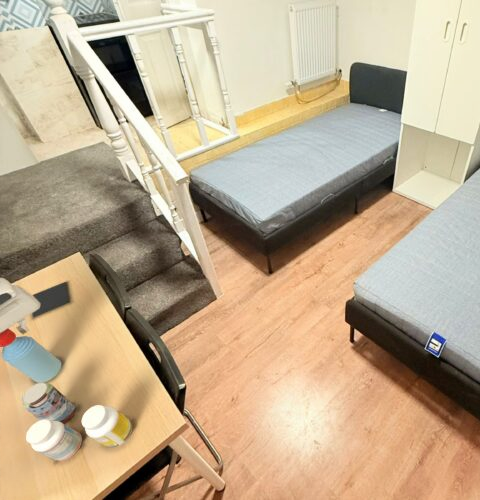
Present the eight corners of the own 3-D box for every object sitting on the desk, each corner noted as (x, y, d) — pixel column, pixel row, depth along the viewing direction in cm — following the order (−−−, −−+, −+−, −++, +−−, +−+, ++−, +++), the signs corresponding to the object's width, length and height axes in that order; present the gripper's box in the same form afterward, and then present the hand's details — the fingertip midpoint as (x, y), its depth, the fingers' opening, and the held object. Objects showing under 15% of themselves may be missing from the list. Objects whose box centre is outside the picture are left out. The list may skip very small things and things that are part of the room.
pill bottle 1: (54, 440, 79) (22, 424, 71) (82, 427, 80) (55, 410, 73) (52, 467, 75) (19, 452, 67) (83, 452, 77) (53, 437, 69)
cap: (2, 334, 81) (-5, 329, 79) (19, 332, 81) (12, 326, 80) (-6, 348, 78) (-14, 343, 77) (11, 346, 79) (4, 340, 77)
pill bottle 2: (133, 414, 82) (110, 395, 74) (133, 441, 78) (109, 424, 70) (104, 425, 81) (78, 407, 72) (103, 453, 76) (75, 437, 68)
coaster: (33, 317, 104) (32, 316, 104) (32, 296, 110) (31, 295, 110) (69, 302, 108) (68, 301, 107) (66, 282, 114) (65, 281, 113)
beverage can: (54, 436, 79) (20, 418, 71) (46, 412, 83) (14, 393, 75) (82, 417, 82) (53, 397, 74) (74, 395, 86) (45, 374, 78)
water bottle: (29, 385, 88) (-21, 352, 76) (38, 362, 93) (-8, 327, 81) (57, 379, 89) (12, 345, 77) (64, 356, 94) (23, 321, 82)
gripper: (-97, 353, 63) (-40, 384, 73) (21, 285, 75) (57, 320, 84) (-105, 336, 66) (-49, 368, 76) (10, 273, 78) (46, 308, 87)
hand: (8, 342), depth 80 cm, fingers open, 6 cm apart
